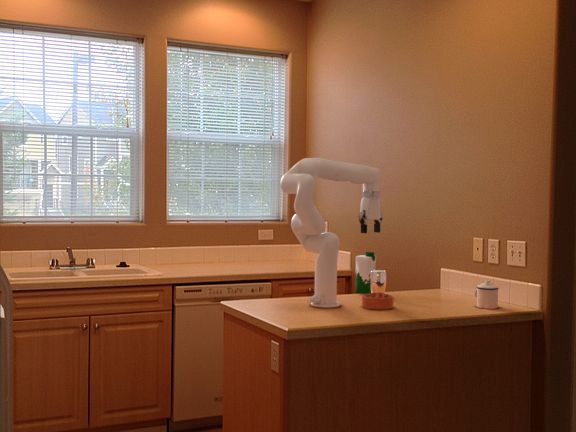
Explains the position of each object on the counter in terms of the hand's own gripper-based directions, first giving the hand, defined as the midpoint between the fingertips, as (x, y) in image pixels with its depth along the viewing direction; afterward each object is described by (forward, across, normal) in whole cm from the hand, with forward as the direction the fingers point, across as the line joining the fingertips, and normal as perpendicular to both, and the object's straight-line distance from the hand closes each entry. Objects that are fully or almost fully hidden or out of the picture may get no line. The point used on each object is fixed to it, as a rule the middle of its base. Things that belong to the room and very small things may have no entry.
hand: (370, 232), depth 300 cm
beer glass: (+30, +15, +16) cm, 37 cm away
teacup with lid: (+31, -21, +46) cm, 59 cm away
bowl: (+30, +15, +16) cm, 37 cm away
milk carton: (+31, -12, -12) cm, 35 cm away
